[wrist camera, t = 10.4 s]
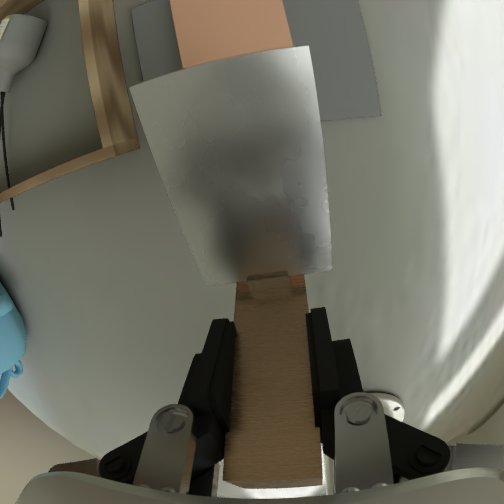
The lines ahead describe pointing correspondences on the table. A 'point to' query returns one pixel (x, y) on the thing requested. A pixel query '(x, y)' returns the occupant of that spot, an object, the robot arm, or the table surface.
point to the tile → (228, 28)
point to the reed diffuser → (16, 57)
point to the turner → (252, 236)
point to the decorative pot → (10, 340)
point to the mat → (302, 33)
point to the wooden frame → (91, 88)
